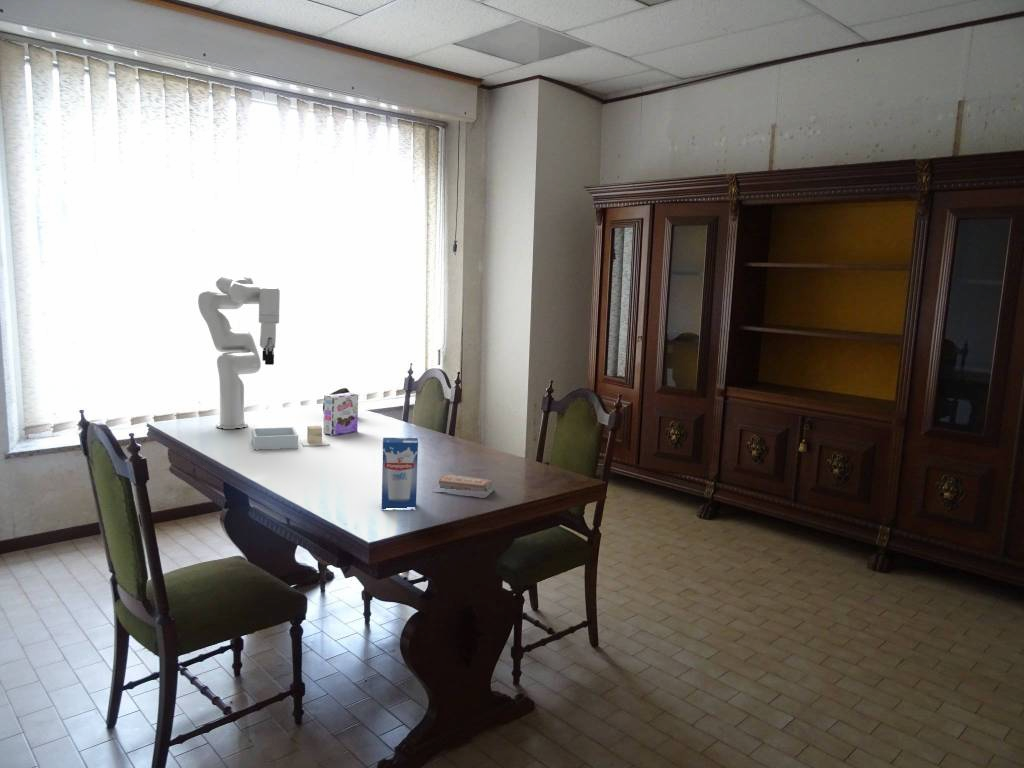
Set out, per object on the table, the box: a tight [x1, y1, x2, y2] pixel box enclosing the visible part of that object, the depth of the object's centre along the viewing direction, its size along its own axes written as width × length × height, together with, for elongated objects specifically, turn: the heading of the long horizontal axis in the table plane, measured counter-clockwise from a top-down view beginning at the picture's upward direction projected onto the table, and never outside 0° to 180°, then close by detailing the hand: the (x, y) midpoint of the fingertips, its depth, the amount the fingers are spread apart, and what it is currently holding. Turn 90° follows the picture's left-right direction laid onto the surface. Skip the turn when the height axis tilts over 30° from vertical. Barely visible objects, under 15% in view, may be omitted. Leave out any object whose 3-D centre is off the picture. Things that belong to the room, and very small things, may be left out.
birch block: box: [306, 425, 323, 444], centre depth 289 cm, size 5×5×6 cm
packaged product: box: [438, 473, 493, 492], centre depth 234 cm, size 18×5×10 cm
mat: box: [299, 438, 330, 447], centre depth 290 cm, size 10×10×1 cm
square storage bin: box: [251, 426, 299, 451], centre depth 284 cm, size 16×16×5 cm
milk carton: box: [381, 437, 419, 510], centre depth 214 cm, size 10×6×20 cm, turn 99°
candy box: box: [322, 392, 359, 437], centre depth 309 cm, size 14×6×16 cm, turn 143°
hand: (268, 362), depth 289 cm, fingers open, 9 cm apart
